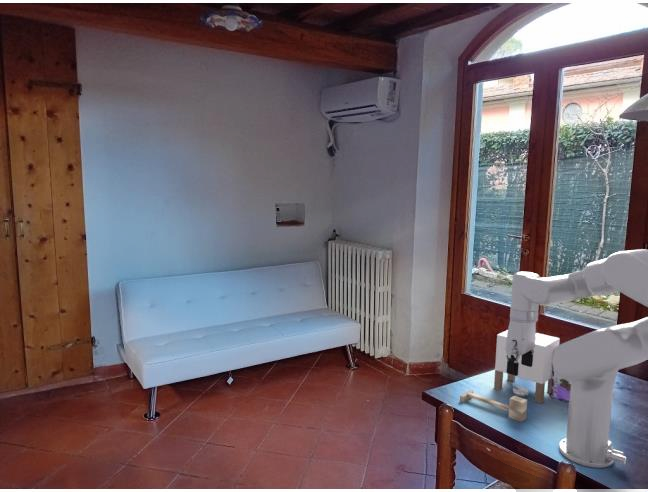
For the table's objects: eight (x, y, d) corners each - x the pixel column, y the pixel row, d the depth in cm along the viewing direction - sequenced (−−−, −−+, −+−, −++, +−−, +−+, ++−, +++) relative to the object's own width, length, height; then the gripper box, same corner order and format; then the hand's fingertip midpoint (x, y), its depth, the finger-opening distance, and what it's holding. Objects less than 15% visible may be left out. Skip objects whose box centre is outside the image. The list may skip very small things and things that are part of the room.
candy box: (550, 397, 159) (553, 349, 157) (556, 391, 164) (559, 345, 161) (596, 411, 150) (601, 360, 148) (601, 405, 154) (606, 355, 152)
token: (531, 393, 163) (531, 390, 163) (524, 398, 159) (524, 394, 159) (516, 389, 166) (516, 385, 166) (510, 393, 163) (510, 390, 163)
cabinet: (555, 392, 163) (559, 338, 161) (539, 404, 154) (544, 347, 152) (509, 378, 175) (513, 327, 172) (492, 388, 166) (495, 335, 163)
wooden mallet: (528, 417, 146) (529, 398, 145) (519, 423, 142) (520, 404, 141) (469, 396, 160) (470, 378, 159) (459, 401, 156) (460, 384, 155)
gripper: (524, 306, 150) (519, 359, 152) (497, 317, 138) (493, 374, 140) (548, 311, 144) (544, 366, 147) (523, 323, 132) (519, 382, 135)
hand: (519, 369), depth 144 cm, fingers open, 9 cm apart
